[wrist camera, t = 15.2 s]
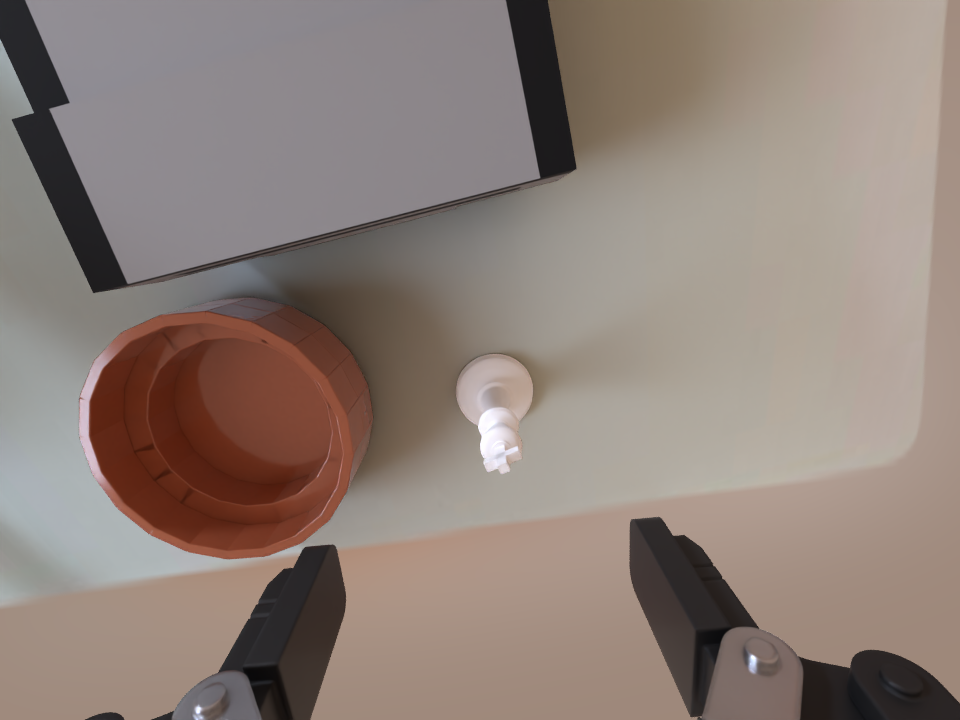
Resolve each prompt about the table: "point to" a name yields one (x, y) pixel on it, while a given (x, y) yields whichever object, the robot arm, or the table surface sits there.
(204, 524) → the bowl
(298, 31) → the game console
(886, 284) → the table surface
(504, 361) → the chess piece
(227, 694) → the robot arm
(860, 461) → the table surface
